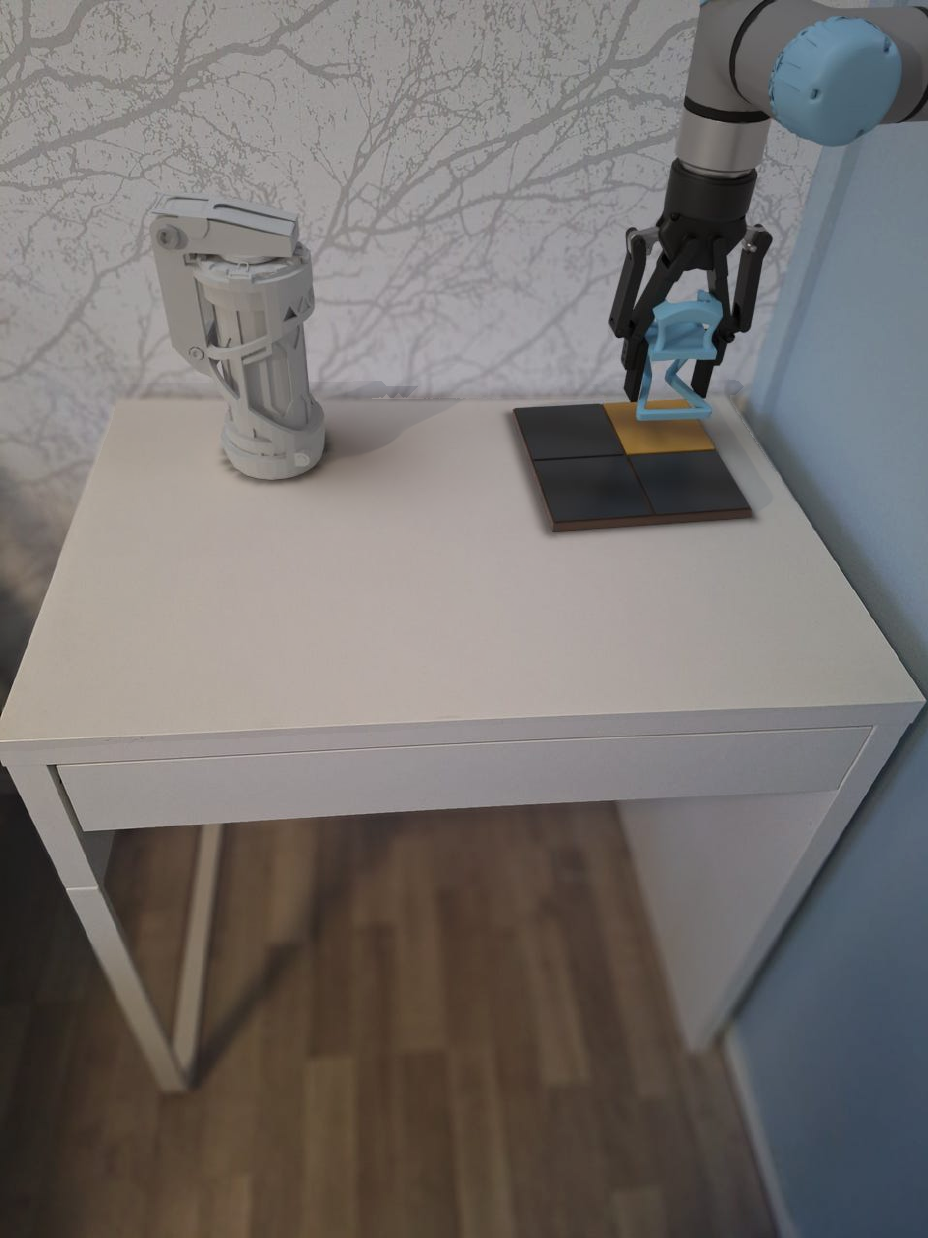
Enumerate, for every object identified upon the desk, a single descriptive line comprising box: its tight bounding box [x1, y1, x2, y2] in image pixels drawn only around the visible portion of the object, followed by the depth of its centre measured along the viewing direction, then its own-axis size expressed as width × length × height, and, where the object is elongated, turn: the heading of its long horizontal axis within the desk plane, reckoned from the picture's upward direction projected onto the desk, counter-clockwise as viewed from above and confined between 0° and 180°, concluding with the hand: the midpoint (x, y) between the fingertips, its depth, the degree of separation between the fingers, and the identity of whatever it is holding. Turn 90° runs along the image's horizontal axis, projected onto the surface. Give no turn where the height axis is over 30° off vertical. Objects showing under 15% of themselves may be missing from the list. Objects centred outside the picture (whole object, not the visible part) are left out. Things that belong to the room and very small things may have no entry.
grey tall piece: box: [148, 189, 326, 481], centre depth 86 cm, size 13×10×25 cm
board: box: [511, 398, 753, 532], centre depth 96 cm, size 20×20×1 cm
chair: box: [636, 288, 723, 421], centre depth 93 cm, size 8×8×12 cm
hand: (664, 393), depth 97 cm, fingers closed on chair, 7 cm apart
